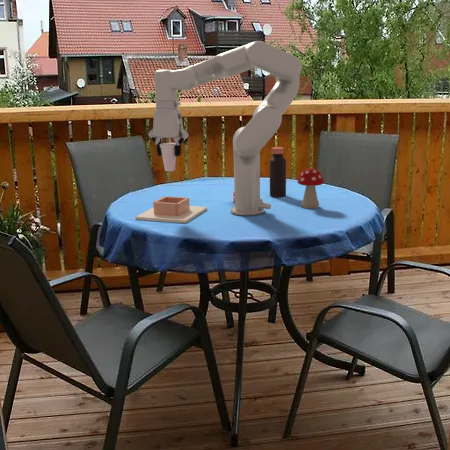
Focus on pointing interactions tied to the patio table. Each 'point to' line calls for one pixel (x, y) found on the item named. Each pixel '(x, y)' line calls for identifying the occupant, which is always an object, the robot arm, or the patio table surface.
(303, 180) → the decorative mushroom
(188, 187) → the patio table surface
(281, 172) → the vinegar
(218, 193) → the patio table surface
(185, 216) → the open brown bin
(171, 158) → the smoothie
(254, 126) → the robot arm
